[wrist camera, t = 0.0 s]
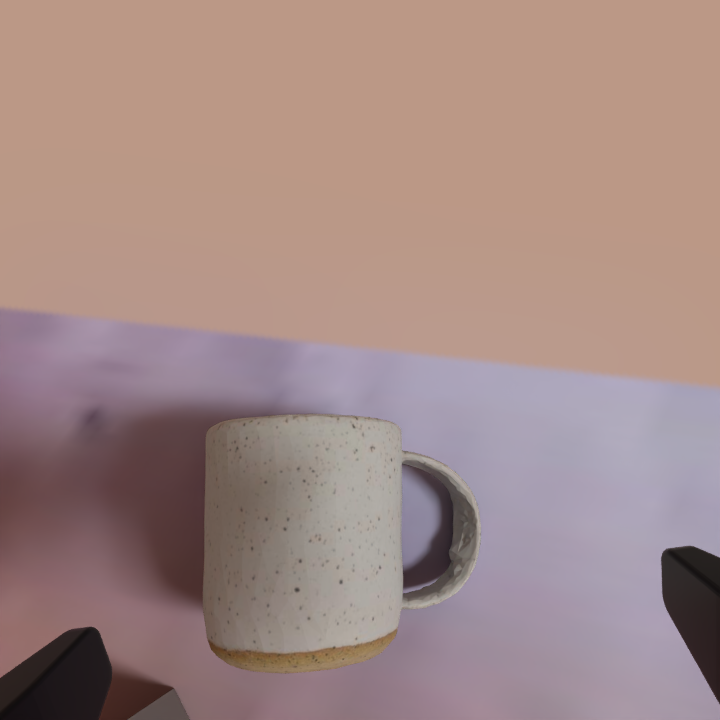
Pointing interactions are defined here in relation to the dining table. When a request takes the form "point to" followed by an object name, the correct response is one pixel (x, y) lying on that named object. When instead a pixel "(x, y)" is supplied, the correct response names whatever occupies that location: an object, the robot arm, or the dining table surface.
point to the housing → (163, 709)
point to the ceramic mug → (315, 540)
